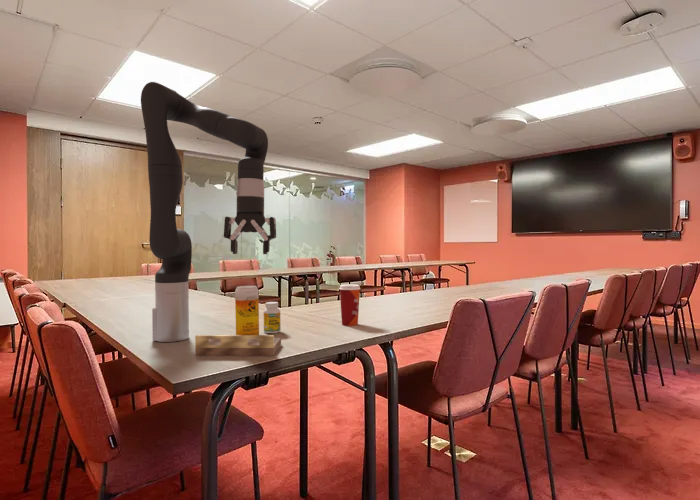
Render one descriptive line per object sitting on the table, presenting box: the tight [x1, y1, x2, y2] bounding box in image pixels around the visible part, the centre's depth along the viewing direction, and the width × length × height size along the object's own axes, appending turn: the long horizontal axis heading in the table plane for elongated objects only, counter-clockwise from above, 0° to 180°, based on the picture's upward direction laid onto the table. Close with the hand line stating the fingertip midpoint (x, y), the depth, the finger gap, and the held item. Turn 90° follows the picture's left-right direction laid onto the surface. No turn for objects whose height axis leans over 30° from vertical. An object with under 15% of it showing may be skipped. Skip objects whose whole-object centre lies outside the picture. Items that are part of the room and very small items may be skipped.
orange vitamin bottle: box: [234, 285, 260, 335], centre depth 111 cm, size 6×6×15 cm
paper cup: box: [338, 283, 362, 327], centre depth 146 cm, size 8×8×14 cm
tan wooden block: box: [194, 334, 282, 357], centre depth 111 cm, size 20×11×5 cm, turn 89°
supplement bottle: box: [263, 301, 281, 334], centre depth 133 cm, size 5×5×10 cm
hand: (250, 254), depth 115 cm, fingers open, 8 cm apart
